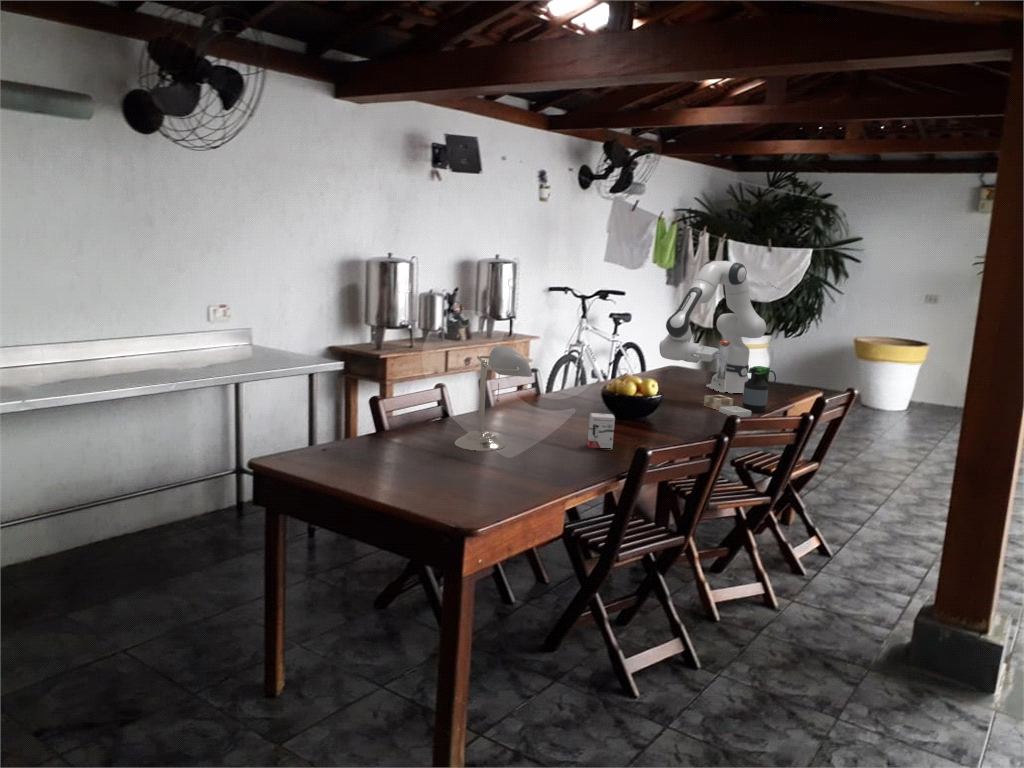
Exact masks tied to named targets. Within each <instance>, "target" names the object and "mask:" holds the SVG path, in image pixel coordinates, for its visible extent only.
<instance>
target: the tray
mask: <svg viewBox="0 0 1024 768" xmlns="http://www.w3.org/2000/svg"><path fill="white" fill-rule="evenodd" d="M719 412H721V413H723V414H722V415H724V414H726V415H725V416H728V417H730V415H737V416H740V417H739V418H748V417H749V418H750V417H752V412H751V411H750V410H747V409H744V408H743V407H740V406H738V405H733V406H731V407H720V408H719V411H718V413H719ZM721 413H720V414H721Z"/></svg>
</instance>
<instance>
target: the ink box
mask: <svg viewBox="0 0 1024 768" xmlns="http://www.w3.org/2000/svg"><path fill="white" fill-rule="evenodd" d="M588 422H589V423H588V433H587V443H586V444H587V447H588V448H589V449H595V448H611V449H610V450H613V445H614V433H615V422H616V417H615V415H614V414H612V413H610V414H609V413H597V412H591V413H589V421H588Z"/></svg>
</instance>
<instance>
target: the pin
mask: <svg viewBox="0 0 1024 768" xmlns="http://www.w3.org/2000/svg"><path fill="white" fill-rule="evenodd" d="M730 343H731V342H730V341H725V340H723V339H722V340H720V341H719V344H720V348H719V352H720V355H725V359H718V366H717V367H718V368H717V373H718V375H717V378H718V379H725V377H726V368H727V359H728V350H729V344H730Z"/></svg>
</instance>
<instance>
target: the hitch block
mask: <svg viewBox="0 0 1024 768" xmlns="http://www.w3.org/2000/svg"><path fill="white" fill-rule="evenodd" d="M704 406H706V407H705V408H707V407H710V408H713V409H716V410H719V408H720V407H731V406H734V398H733V397H732V398H731V397H728V396H725V395H722V394H710V395H709V394H707V395H704V400H703V407H704ZM710 408H709V409H710ZM713 409H712V410H713ZM716 410H715V411H716Z"/></svg>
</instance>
